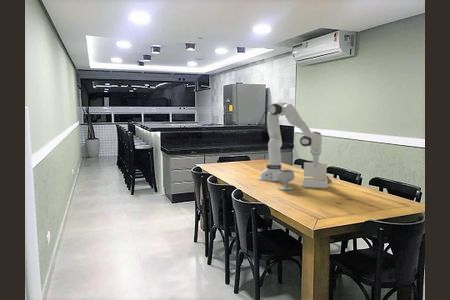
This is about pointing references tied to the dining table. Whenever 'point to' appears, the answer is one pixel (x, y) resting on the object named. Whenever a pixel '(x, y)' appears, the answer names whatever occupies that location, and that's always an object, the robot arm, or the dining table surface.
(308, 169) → the lid
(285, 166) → the dining table surface
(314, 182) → the mailer box
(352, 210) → the dining table surface
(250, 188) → the dining table surface
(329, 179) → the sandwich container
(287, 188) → the chalice
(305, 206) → the dining table surface
